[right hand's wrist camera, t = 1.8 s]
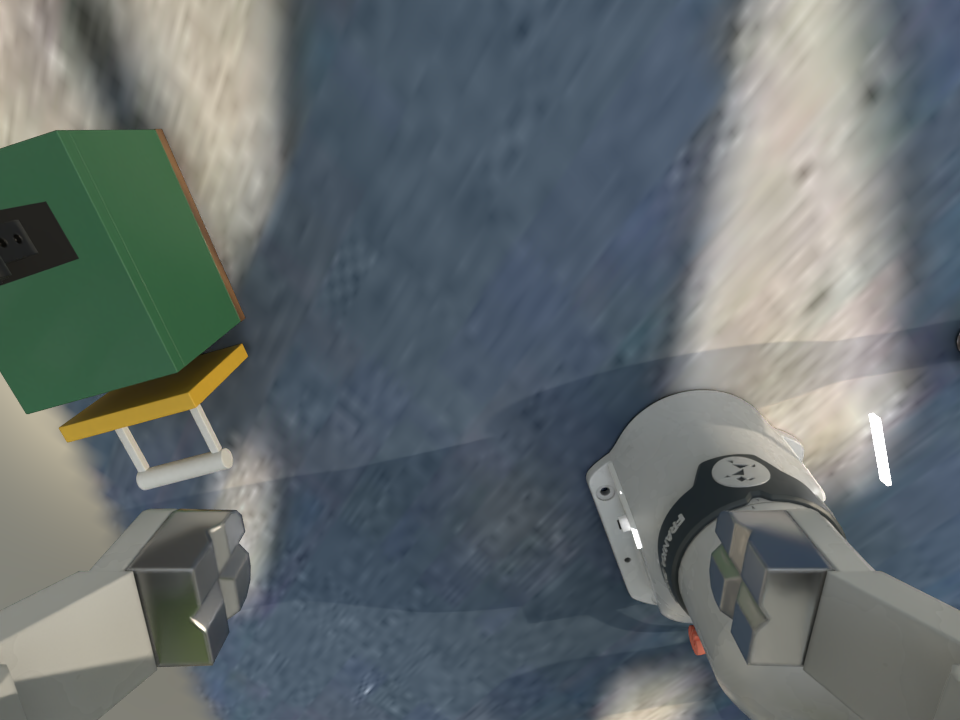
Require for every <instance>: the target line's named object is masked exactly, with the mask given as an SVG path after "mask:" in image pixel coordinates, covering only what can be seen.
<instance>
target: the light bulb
mask: <svg viewBox="0 0 960 720" xmlns="http://www.w3.org/2000/svg"><path fill="white" fill-rule="evenodd" d="M957 346H958V349H959V351H960V334H959V336H958V339H957Z"/></svg>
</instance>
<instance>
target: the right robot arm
mask: <svg viewBox="0 0 960 720" xmlns="http://www.w3.org/2000/svg"><path fill="white" fill-rule="evenodd" d="M869 418H870V424H871V429H872V435H873V441H874V447H875V452H876V458H877V464H878V470H879V476H880V480H881V481H882V482H884V483H885V484H886V485H887V486H889V485H891V479H890V473H889V467H888V461H887V455H886V449H885V443H884V437H883V431H882V425H881V419H880V418H879V417H878V416H876V415H875V414H873V413H872V414H869ZM803 457H804V448H803V446H802V445H801V443H800V442H799V441H798V439H797V438H795V437H794V436H792V435H790V434H788V433H786V432H783V431H781V430H779V429H776V428H774V427H773V426H771V425H770V424H769V423H768V422H767V421H766V419H765V418H764V417H763V416H762V415H761V413H760V412H759V411H758V410H757V409H756V408H754V407H753V406H752V405H751V404H749V403H748V402H746V401H745V400H743V399H741V398H739V397H737V396H734V395H731V394H728V393H725V392H720V391H714V390H693V391H686V392H681V393H678V394H674V395H671V396H668V397H666V398H663V399H661V400H659V401H657V402H655V403H654V404H652V405H650V406H649V407H647V408H646V409H644V410H643V411H642V412H641V413H639V414H638V415H637V416H636V417H635V418H634V419H633V420H632V421H631V422H630V423H629V424H628V426H627V427H626V428H625V429H624V431H623V432H622V434H621V436H620V437H619V439H618V441H617V442H616V444H615V446H614V447H613V449H612V450H611V451H610V452H609V453H608V454H607V455H606V456H604V457H603V458H602V459H600V460H599V461H598V462H597V463H595V464H594V465H593V466H592V467H591V468H590V469H589V470H588V472H587V475H586V480H587V484H588V486H589V489H590V492H591V494H592V497H593V500H594V502H595V505H596V508H597V510H598V513H599V516H600V519H601V521H602V524H603V527H604V529H605V532H606V535H607V537H608V540H609V543H610V545H611V548H612V551H613V553H614V556H615V559H616V561H617V564H618V567H619V569H620V572H621V575H622V577H623V580H624V583H625V585H626V588H627V590H628V592H629V594H630V596H631V597H632V598H633V599H636V600H638V601H641V602H644V603H648V604H654V605H658V607H659V610H660V612H661V614H662V615H664V616H665V617H667V618H669V619H671V620H674V621H678V622H683V623H693V625H690V626H689V638H690V642H691V645H692V648H693V650H694V652H695V654H696V655H702V654H706V655H707V658H708V660H709V662H710V665H711V667H712V669H713V672H714V674H715V676H716V679H717V681H718V683H719V685H720V686H721V688H722V689H723V691H724V692H725V694H726V695H727V696H728V697H729V698H730V700H731V701H732V702H733V703H734V704H735V705H736V706H737V707H738V708H739V709H740V710H741V711H742V712H743V713H744V714H746V715H747V716H748V717H749V718H750V719H751V720H960V610H958V609H956V608H954V607H952V606H950V605H948V604H946V603H944V602H942V601H940V600H938V599H936V598H934V597H932V596H930V595H928V594H926V593H924V592H922V591H920V590H918V589H916V588H914V587H912V586H910V585H908V584H906V583H904V582H902V581H900V580H898V579H896V578H894V577H892V576H890V575H888V574H886V573H884V572H882V571H875V570H874V569H873V568H872V567H871V566H870V565H869V564H868V563H867V562H866V561H865V560H864V559H863V558H862V557H861V556H860V555H859V553H858V552H857V551H856V550H855V549H854V548H853V547H852V546H851V545H850V544H849V543H848V542H847V540H846V537H845V534H844V532H843V530H842V528H841V526H840V524H839V523H838V522H837V520H836V518H835V517H834V515H833V513H832V512H831V510H830V509H829V508H828V507H827V506H826V504H825V503H824V501H825V499H826V497H825V493H824V491H823V489H822V488H821V487H820V485H819V484H818V483H817V481H816V480H815V479H814V477H813V476H812V475H811V473H810V472H809V471H808V469H807V468H806V467H805V465H804V464H803V463H802V461H803ZM605 487H606V488H608V489H607V490H606V491H601V489H602V488H605ZM244 533H245V528H244V523H243V519H242V515H241V514H240V513H239V512H238V511H237V510H207V509H149V510H145V511H143V512H142V513H141V514H140V515H139V516H138V517H137V518H136V519H135V520H134V521H133V522H132V524H131V525H130V526H129V527H128V528H127V529H126V530H125V531H124V532H123V534H122V535H121V536H120V537H119V538H118V539H117V540H116V541H115V542H114V544H113V545H112V546H111V547H110V548H109V549H108V550H107V551H106V552H105V554H104V555H103V556H102V557H101V558H100V559H99V560H98V561H97V563H96V564H95V565H94V566H93V567H92V568H91V569H90V570H89V571H78V572H76V573H74V574H72V575H70V576H68V577H66V578H64V579H62V580H60V581H58V582H56V583H54V584H52V585H50V586H48V587H46V588H44V589H42V590H40V591H38V592H36V593H34V594H32V595H30V596H28V597H26V598H24V599H22V600H20V601H18V602H16V603H14V604H12V605H10V606H8V607H6V608H4V609H2V610H0V720H98V719H99V718H101V717H102V716H103V715H104V714H105V713H107V712H108V711H109V710H110V709H111V708H112V707H114V706H115V705H116V704H117V703H118V702H120V701H121V700H122V699H123V698H124V697H126V696H127V695H128V694H129V693H130V692H131V691H133V690H134V689H135V688H136V687H137V686H139V685H140V684H141V683H142V682H143V681H145V680H146V679H147V678H148V677H149V676H151V675H152V674H153V673H154V672H155V671H157V667H174V666H208V665H213V663H214V661H215V659H216V657H217V656H218V654H219V652H220V650H221V648H222V646H223V644H224V642H225V640H226V638H227V636H228V634H229V626H228V621H227V620H228V619H229V618H231V617H232V616H233V615H235V614H236V613H238V612H239V611H240V610H241V608H242V606H243V604H244V601H245V599H246V597H247V593H248V588H249V584H250V572H251V565H250V558H249V553H248V552H247V551H246V550H245V549H244V548H243V547H242V546H241V545H240V544H239V541H240V540H241V538H242V536H243V534H244Z"/></svg>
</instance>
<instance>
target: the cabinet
mask: <svg viewBox="0 0 960 720" xmlns="http://www.w3.org/2000/svg"><path fill="white" fill-rule="evenodd" d="M45 201H46V202H47V204H48V206H49V207H50V209H51V211H52V213H53V214H54V216H55V218H56V219H57V221H58V223H59V225H60V226H61V228H62V230H63V232H64V233H65V235H66V237H67V238H68V240H69V242H70V244H71V245H72V247H73V249H74V251H75V252H76V254H77V256H78V257H79V259H77V260H74V261H71V262H68V263H65V264H63V265H60V266H57V267H54V268H51V269H48V270H45V271H42V272H39V273H36V274H33V275H30V276H27V277H25V278H22V279H19V280H16V281H13V282H10V283H7V284H4V285H1V286H0V372H1V374H2V375H3V377H4V379H5V380H6V382H7V383H8V385H9V387H10V388H11V390H12V392H13V393H14V395H15V396H16V398H17V400H18V401H19V403H20V405H21V406H22V408H23V410H24V411H25V413H26V414H30V413H34V412H37V411H41V410H45V409H48V408H52V407H55V406H59V405H63V404H66V403H70V402H73V401H77V400H81V399H84V398H88V397H91V396H95V395H99V394H102V393H106V392H109V391H113V390H117V389H120V388H124V387H128V386H131V385H135V384H138V383H142V382H146V381H149V380H153V379H156V378H160V377H164V376H167V375H171V374H174V373H178V372H179V371H180V370H181V369H183V368H184V367H185V366H186V365H188V364H189V363H190V362H191V361H192V360H194V359H195V358H196V357H197V356H199V355H200V354H201V353H202V352H204V351H205V350H206V349H207V348H208V347H210V346H211V345H212V344H213V343H215V342H216V341H217V340H218V339H220V338H221V337H222V336H223V335H224V334H226V333H227V332H228V331H229V330H231V329H232V328H233V327H234V326H236V325H237V324H238V323H239V322H241V321H243V320H244V319H245V316H244V314H243V312H242V310H241V307H240V305H239V303H238V300H237V298H236V296H235V294H234V291H233V289H232V287H231V285H230V282H229V280H228V278H227V276H226V273H225V271H224V269H223V267H222V264H221V262H220V260H219V258H218V255H217V253H216V251H215V248H214V246H213V244H212V242H211V239H210V237H209V235H208V233H207V230H206V228H205V226H204V224H203V221H202V219H201V217H200V215H199V212H198V210H197V208H196V205H195V203H194V201H193V199H192V196H191V194H190V192H189V190H188V187H187V185H186V183H185V181H184V178H183V176H182V174H181V172H180V169H179V167H178V165H177V163H176V160H175V158H174V156H173V153H172V151H171V149H170V147H169V144H168V142H167V140H166V138H165V135H164V133H163V131H162V129H154V130H55V131H52V132H49V133H46V134H43V135H40V136H37V137H34V138H31V139H28V140H25V141H22V142H19V143H16V144H13V145H10V146H7V147H4V148H0V210H2V209H7V208H13V207H18V206H24V205H29V204H34V203H40V202H45Z"/></svg>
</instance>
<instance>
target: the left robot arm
mask: <svg viewBox="0 0 960 720" xmlns="http://www.w3.org/2000/svg"><path fill="white" fill-rule="evenodd" d="M77 259H79V257H78V256H77V254H76V252H75V251H74V249H73V247H72V245H71V244H70V242H69V240H68V238H67V237H66V235H65V233H64V232H63V230H62V228H61V226H60V225H59V223H58V221H57V219H56V218H55V216H54V214H53V213H52V211H51V209H50V207H49V206H48V204H47V202H46V201H45V202H40V203H34V204H29V205H24V206H18V207H13V208H7V209H2V210H0V286H1V285H4V284H7V283H10V282H13V281H16V280H19V279H22V278H25V277H27V276H30V275H33V274H36V273H39V272H42V271H45V270H48V269H51V268H54V267H57V266H60V265H63V264H65V263H68V262H71V261H74V260H77Z"/></svg>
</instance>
